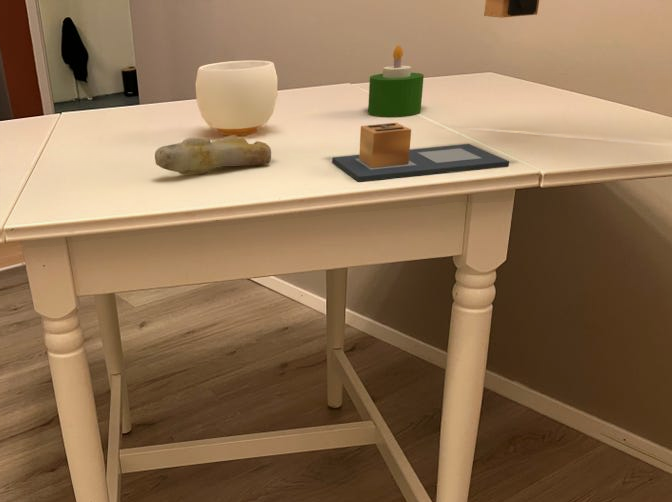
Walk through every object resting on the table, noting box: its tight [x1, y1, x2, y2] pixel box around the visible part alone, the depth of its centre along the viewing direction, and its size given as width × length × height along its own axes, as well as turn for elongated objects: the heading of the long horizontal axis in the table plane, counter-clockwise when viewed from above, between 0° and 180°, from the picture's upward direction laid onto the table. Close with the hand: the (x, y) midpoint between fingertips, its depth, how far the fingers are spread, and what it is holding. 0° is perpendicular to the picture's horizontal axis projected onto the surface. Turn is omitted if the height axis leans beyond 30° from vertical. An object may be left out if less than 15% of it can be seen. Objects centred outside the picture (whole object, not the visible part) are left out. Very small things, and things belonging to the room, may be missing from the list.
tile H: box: [358, 122, 412, 168], centre depth 84 cm, size 4×4×4 cm
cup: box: [195, 59, 278, 137], centre depth 107 cm, size 12×12×10 cm
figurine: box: [154, 135, 272, 176], centre depth 89 cm, size 5×5×15 cm
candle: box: [367, 44, 425, 118], centre depth 113 cm, size 8×8×10 cm
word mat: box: [331, 143, 510, 183], centre depth 85 cm, size 18×10×1 cm, turn 97°
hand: (510, 12), depth 86 cm, fingers closed on tile I, 4 cm apart
